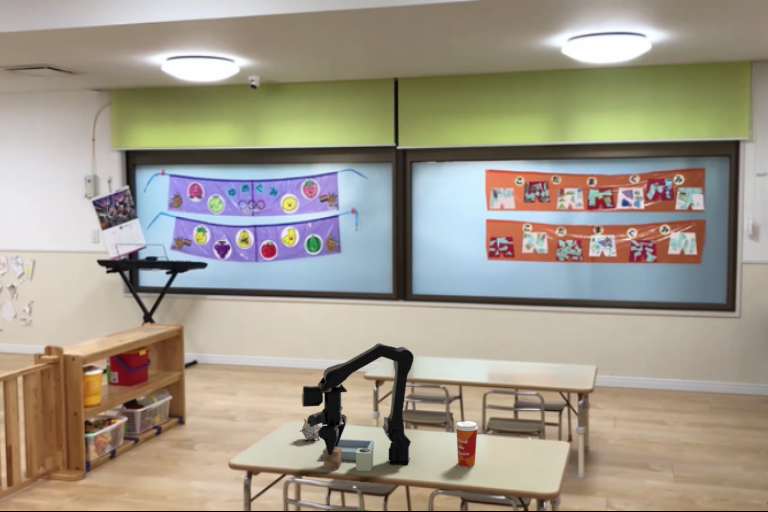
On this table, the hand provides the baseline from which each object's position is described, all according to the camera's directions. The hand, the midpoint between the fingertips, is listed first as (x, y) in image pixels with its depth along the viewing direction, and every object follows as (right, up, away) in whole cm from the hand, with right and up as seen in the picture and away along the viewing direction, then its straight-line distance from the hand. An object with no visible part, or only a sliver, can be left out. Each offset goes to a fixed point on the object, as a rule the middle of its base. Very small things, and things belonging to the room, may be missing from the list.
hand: (332, 450), depth 258 cm
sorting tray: (+5, -5, +14) cm, 15 cm away
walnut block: (0, -6, 0) cm, 6 cm away
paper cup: (+46, -6, +3) cm, 46 cm away
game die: (-10, -4, +30) cm, 32 cm away
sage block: (+11, -6, -1) cm, 12 cm away
